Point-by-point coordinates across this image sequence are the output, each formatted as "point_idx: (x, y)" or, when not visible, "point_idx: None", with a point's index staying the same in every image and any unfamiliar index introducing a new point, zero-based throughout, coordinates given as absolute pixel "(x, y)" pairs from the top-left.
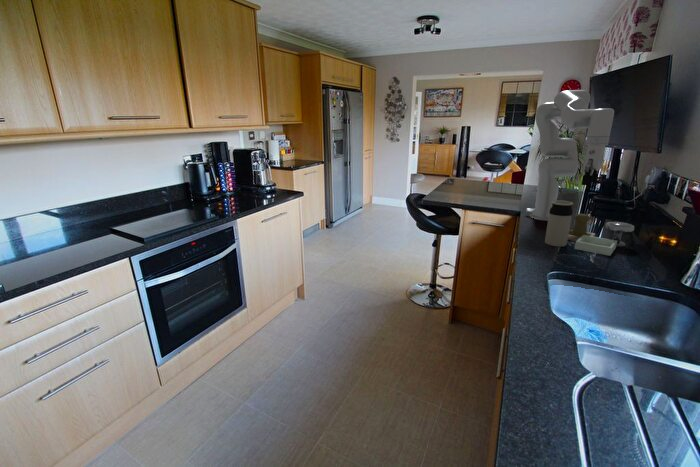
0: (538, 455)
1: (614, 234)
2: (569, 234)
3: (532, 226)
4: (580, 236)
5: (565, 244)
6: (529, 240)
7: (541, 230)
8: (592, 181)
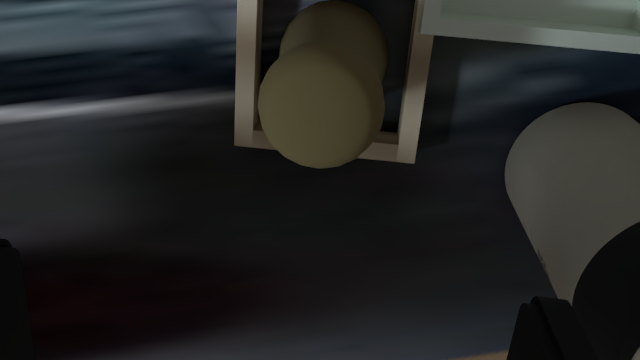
0: None
1: None
2: None
3: (209, 346)
4: (381, 47)
5: (616, 110)
6: None
7: (275, 288)
8: (15, 305)
